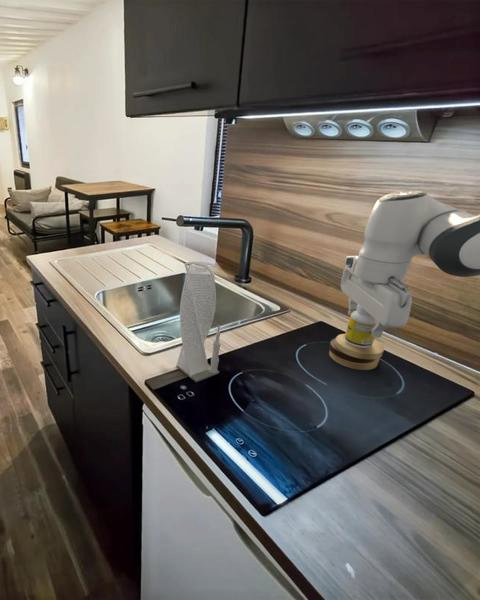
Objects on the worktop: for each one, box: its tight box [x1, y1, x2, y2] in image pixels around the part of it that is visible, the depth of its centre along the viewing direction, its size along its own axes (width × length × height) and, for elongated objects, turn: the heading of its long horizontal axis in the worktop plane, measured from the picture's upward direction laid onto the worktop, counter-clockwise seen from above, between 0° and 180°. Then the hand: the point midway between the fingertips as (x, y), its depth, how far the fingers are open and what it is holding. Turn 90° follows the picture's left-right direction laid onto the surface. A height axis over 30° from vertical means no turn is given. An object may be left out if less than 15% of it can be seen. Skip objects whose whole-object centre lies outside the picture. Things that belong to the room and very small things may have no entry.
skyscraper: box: [175, 261, 222, 383], centre depth 82 cm, size 8×8×28 cm
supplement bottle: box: [345, 304, 376, 348], centre depth 84 cm, size 5×5×10 cm
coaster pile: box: [328, 333, 385, 371], centre depth 87 cm, size 10×10×4 cm
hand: (363, 325), depth 84 cm, fingers open, 8 cm apart
